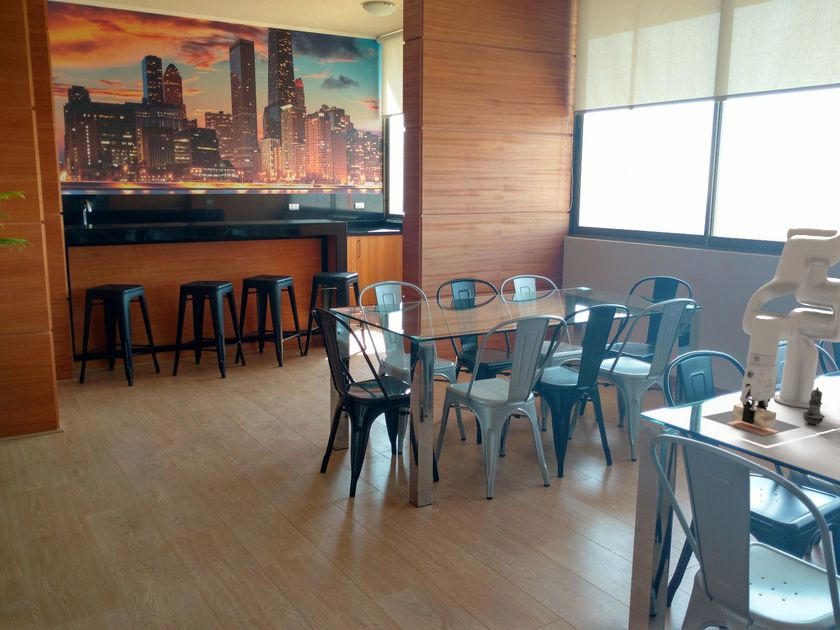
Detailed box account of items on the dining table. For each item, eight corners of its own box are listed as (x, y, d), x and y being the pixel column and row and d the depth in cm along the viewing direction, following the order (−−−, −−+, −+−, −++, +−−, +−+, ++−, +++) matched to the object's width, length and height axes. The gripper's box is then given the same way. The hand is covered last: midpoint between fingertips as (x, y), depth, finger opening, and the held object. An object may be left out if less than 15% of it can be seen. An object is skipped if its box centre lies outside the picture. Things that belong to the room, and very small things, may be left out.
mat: (741, 410, 227) (741, 408, 226) (800, 429, 211) (800, 426, 211) (701, 418, 216) (701, 416, 215) (761, 438, 200) (761, 436, 200)
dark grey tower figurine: (822, 425, 216) (828, 386, 214) (823, 431, 211) (830, 391, 209) (799, 422, 218) (805, 383, 216) (801, 427, 213) (807, 387, 211)
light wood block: (774, 426, 205) (776, 412, 204) (764, 428, 202) (766, 414, 202) (742, 416, 213) (744, 403, 213) (732, 418, 211) (733, 405, 210)
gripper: (757, 365, 197) (748, 429, 200) (791, 360, 206) (782, 421, 209) (732, 358, 203) (723, 421, 206) (766, 354, 212) (758, 413, 216)
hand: (753, 420), depth 208 cm, fingers closed on light wood block, 5 cm apart
